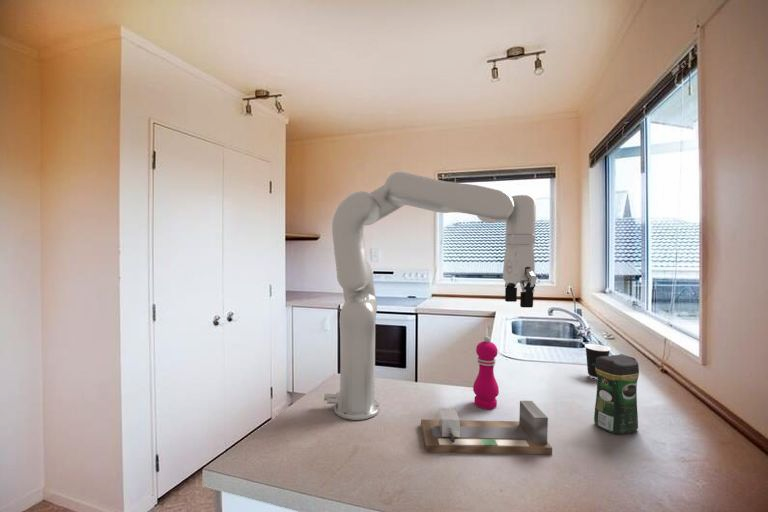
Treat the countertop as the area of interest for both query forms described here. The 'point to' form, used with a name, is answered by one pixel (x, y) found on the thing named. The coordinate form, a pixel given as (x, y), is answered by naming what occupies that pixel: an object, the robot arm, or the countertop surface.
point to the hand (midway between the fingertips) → (518, 304)
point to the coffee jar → (616, 393)
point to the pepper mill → (486, 375)
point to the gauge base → (494, 434)
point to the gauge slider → (449, 423)
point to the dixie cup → (594, 357)
